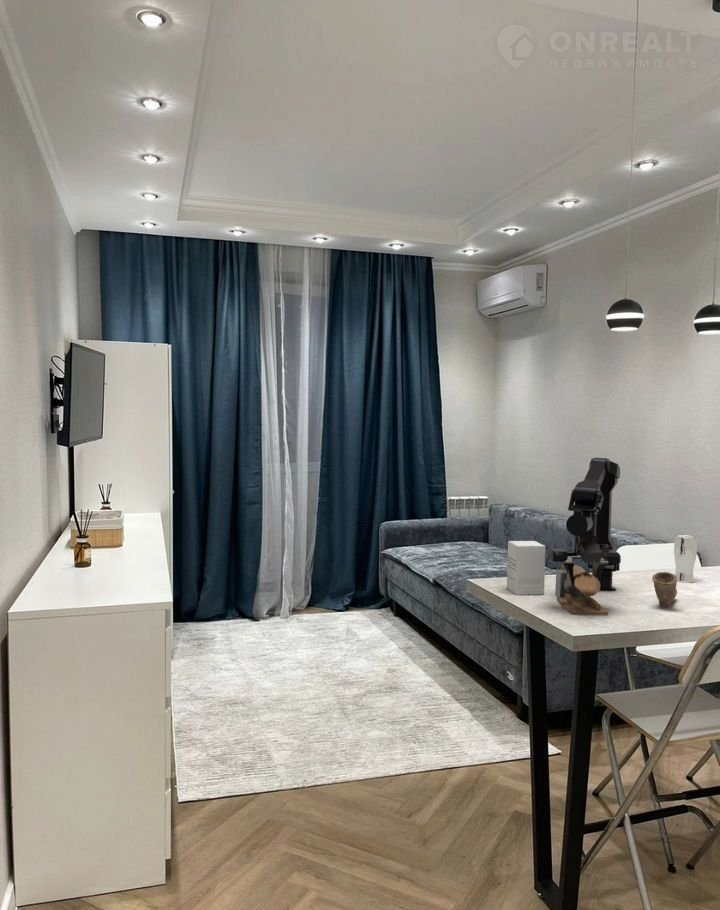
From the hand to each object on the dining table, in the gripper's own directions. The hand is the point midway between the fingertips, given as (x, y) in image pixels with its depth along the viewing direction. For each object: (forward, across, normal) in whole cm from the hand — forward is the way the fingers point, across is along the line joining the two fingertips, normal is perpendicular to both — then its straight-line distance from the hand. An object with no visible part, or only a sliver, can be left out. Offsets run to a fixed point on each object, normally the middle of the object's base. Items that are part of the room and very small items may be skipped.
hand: (582, 586), depth 195 cm
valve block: (+6, 0, +12) cm, 13 cm away
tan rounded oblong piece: (+1, 0, 0) cm, 1 cm away
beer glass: (+6, +46, +38) cm, 60 cm away
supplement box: (+6, -12, +17) cm, 22 cm away
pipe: (+6, +27, +7) cm, 28 cm away
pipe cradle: (+6, 0, 0) cm, 6 cm away
